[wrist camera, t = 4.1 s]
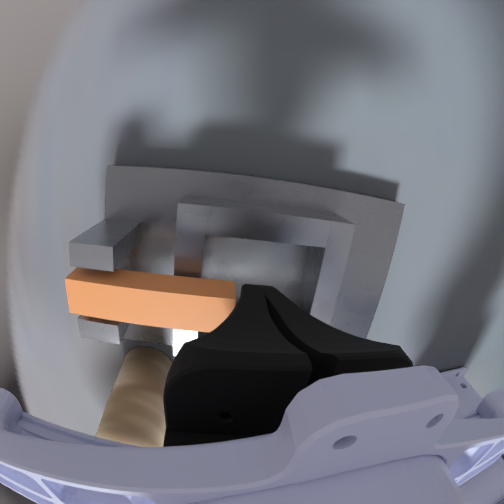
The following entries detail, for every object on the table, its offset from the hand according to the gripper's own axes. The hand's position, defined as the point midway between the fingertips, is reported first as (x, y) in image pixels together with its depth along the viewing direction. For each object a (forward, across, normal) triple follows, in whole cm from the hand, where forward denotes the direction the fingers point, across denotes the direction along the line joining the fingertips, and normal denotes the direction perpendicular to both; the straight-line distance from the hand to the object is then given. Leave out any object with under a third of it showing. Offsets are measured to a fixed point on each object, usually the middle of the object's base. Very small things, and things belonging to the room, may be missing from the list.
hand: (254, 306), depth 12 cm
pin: (+1, +4, 0) cm, 4 cm away
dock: (+4, 0, 0) cm, 4 cm away
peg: (+4, +6, +8) cm, 11 cm away
